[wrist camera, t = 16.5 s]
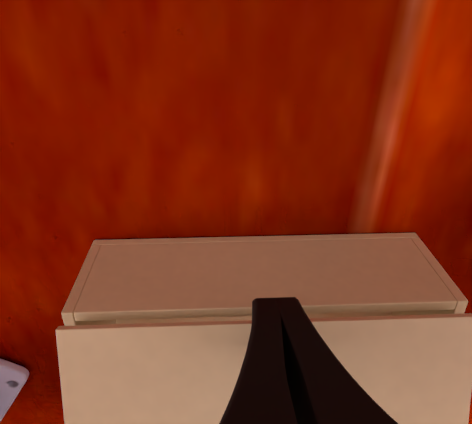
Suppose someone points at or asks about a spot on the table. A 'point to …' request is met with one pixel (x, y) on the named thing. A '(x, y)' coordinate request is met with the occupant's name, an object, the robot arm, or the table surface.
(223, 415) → the robot arm
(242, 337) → the flap
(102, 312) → the carton
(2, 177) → the table surface
